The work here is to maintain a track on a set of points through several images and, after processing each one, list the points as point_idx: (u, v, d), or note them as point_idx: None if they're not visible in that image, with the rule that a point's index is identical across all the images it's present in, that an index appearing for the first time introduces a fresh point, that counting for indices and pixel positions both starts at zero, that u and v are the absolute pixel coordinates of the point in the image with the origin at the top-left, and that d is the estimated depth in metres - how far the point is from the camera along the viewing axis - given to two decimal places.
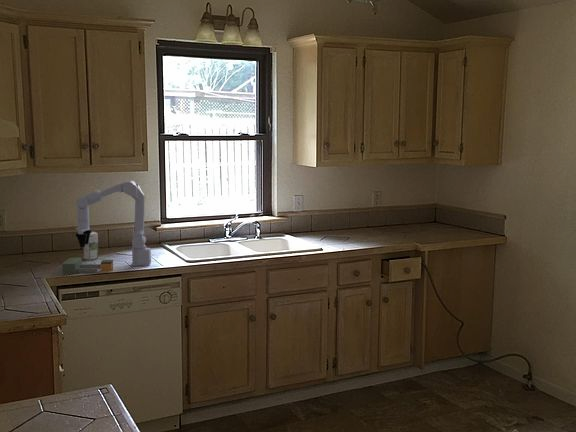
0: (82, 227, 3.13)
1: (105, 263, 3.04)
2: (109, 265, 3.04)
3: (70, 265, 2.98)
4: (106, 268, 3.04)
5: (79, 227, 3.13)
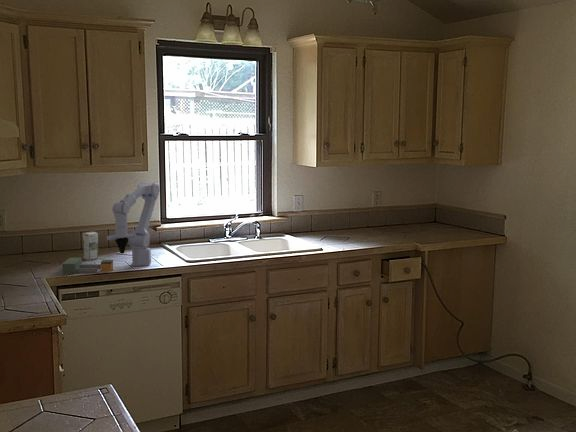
0: (116, 233, 3.03)
1: (105, 263, 3.04)
2: (109, 265, 3.04)
3: (70, 265, 2.98)
4: (106, 268, 3.04)
5: None
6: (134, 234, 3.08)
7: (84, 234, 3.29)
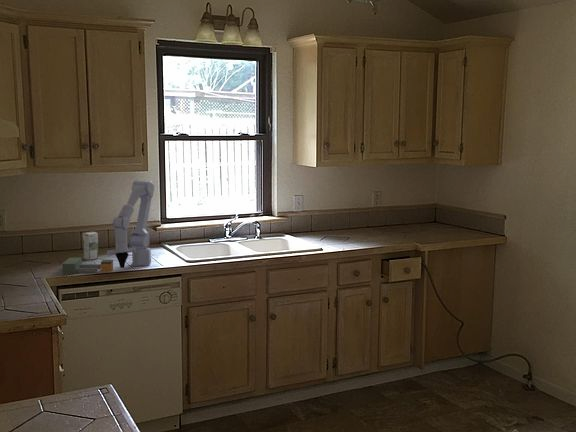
0: (116, 248, 3.04)
1: (105, 263, 3.04)
2: (109, 265, 3.04)
3: (70, 265, 2.98)
4: (106, 268, 3.04)
5: None
6: (134, 248, 3.09)
7: (84, 234, 3.29)
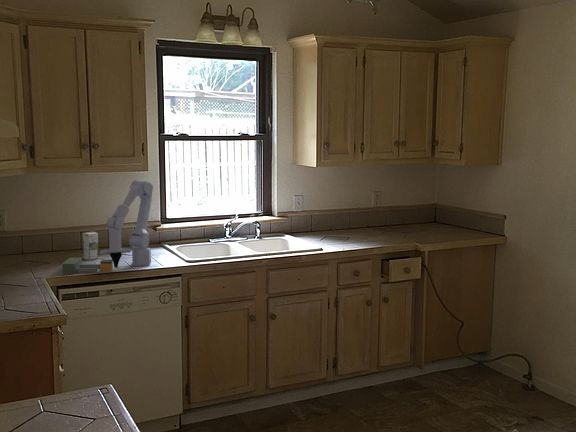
0: None
1: (105, 263, 3.04)
2: (109, 265, 3.04)
3: (70, 265, 2.98)
4: (105, 268, 3.04)
5: None
6: (128, 249, 3.08)
7: (84, 234, 3.29)
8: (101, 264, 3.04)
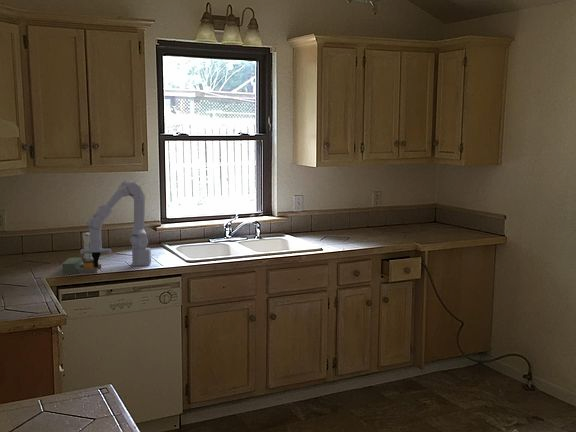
0: None
1: (87, 262, 3.04)
2: (91, 264, 3.04)
3: (70, 265, 2.98)
4: (88, 267, 3.04)
5: None
6: (108, 250, 3.04)
7: (84, 234, 3.29)
8: (84, 264, 3.04)
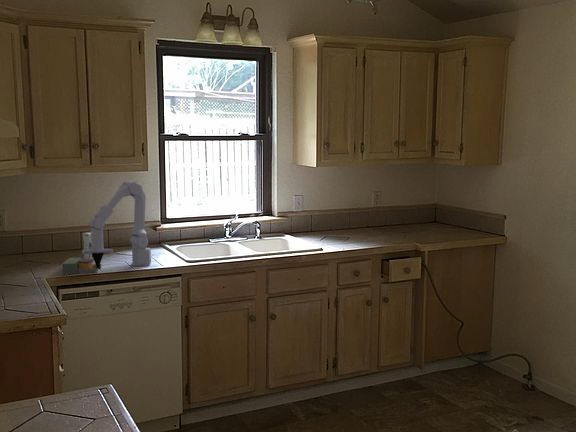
0: None
1: (83, 263, 3.04)
2: (86, 265, 3.04)
3: (70, 265, 2.98)
4: None
5: None
6: (110, 250, 3.05)
7: (84, 234, 3.29)
8: (79, 264, 3.04)
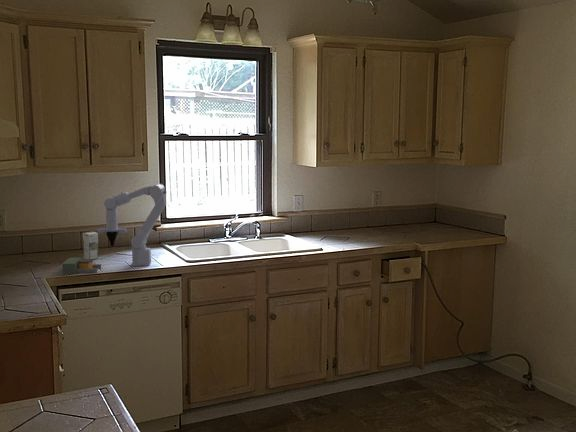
0: None
1: (83, 263, 3.04)
2: (86, 265, 3.04)
3: (70, 265, 2.98)
4: None
5: None
6: (124, 229, 3.18)
7: (84, 234, 3.29)
8: (79, 264, 3.04)
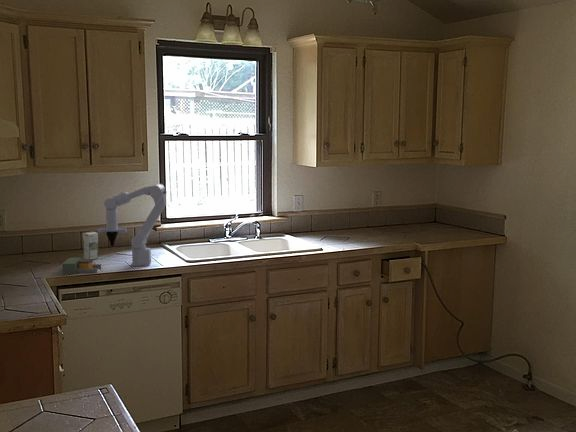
0: None
1: (83, 263, 3.04)
2: (86, 265, 3.04)
3: (70, 265, 2.98)
4: None
5: None
6: (124, 229, 3.18)
7: (84, 234, 3.29)
8: (79, 264, 3.04)
